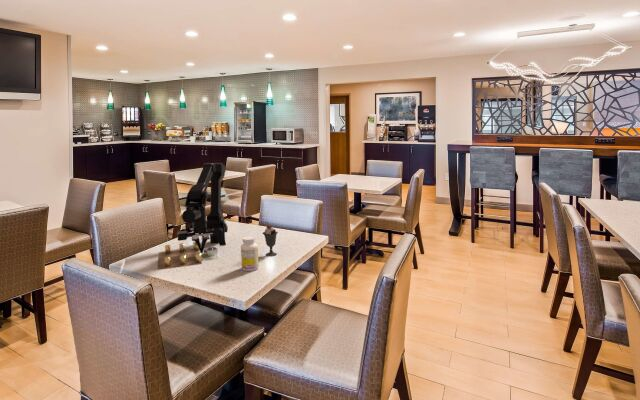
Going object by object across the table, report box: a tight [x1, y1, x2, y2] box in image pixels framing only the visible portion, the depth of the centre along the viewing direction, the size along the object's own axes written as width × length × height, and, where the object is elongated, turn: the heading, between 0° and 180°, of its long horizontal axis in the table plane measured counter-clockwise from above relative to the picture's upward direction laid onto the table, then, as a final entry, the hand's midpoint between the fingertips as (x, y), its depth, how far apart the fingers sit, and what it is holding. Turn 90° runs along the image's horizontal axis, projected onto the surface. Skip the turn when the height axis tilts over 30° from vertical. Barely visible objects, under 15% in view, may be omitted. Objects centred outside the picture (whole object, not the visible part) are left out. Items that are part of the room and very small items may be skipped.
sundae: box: [262, 221, 279, 257], centre depth 177 cm, size 7×7×15 cm
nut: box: [204, 246, 219, 256], centre depth 176 cm, size 6×5×3 cm
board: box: [157, 247, 219, 271], centre depth 174 cm, size 24×24×1 cm
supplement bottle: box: [240, 235, 260, 272], centre depth 160 cm, size 7×7×13 cm
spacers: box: [164, 241, 203, 267], centre depth 173 cm, size 14×20×4 cm
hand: (201, 252), depth 176 cm, fingers closed
